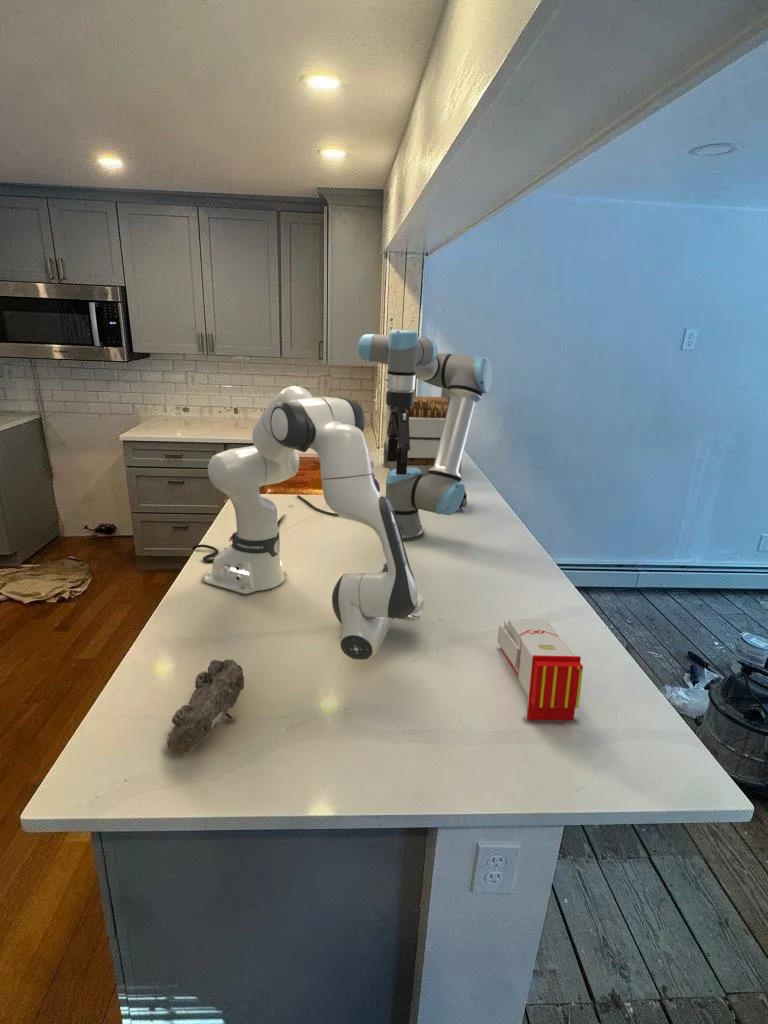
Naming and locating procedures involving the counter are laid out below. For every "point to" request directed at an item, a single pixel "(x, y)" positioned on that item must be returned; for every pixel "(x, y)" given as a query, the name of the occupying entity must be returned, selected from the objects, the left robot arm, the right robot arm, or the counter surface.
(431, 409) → the light boxy container
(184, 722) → the fossil
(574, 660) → the toy
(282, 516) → the feather
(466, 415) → the right robot arm
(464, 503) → the figurine character
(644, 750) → the counter surface
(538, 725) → the counter surface
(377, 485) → the figurine
